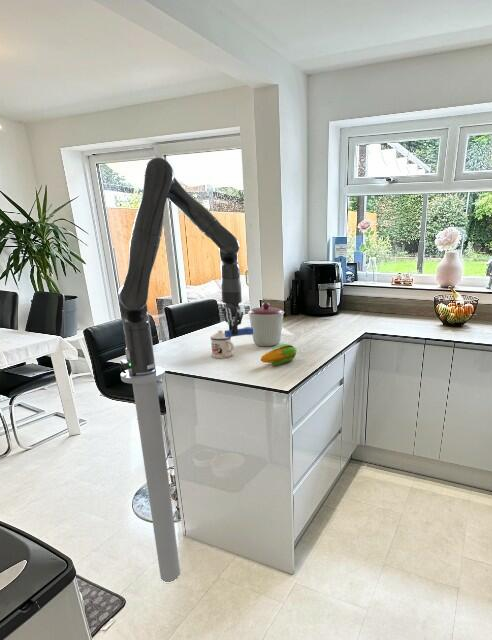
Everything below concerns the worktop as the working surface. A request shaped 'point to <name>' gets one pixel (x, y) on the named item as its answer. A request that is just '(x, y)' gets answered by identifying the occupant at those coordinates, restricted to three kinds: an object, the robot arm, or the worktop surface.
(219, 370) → the worktop surface
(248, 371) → the worktop surface
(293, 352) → the corn
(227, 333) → the blue toy block
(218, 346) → the teacup with lid
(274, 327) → the canister
